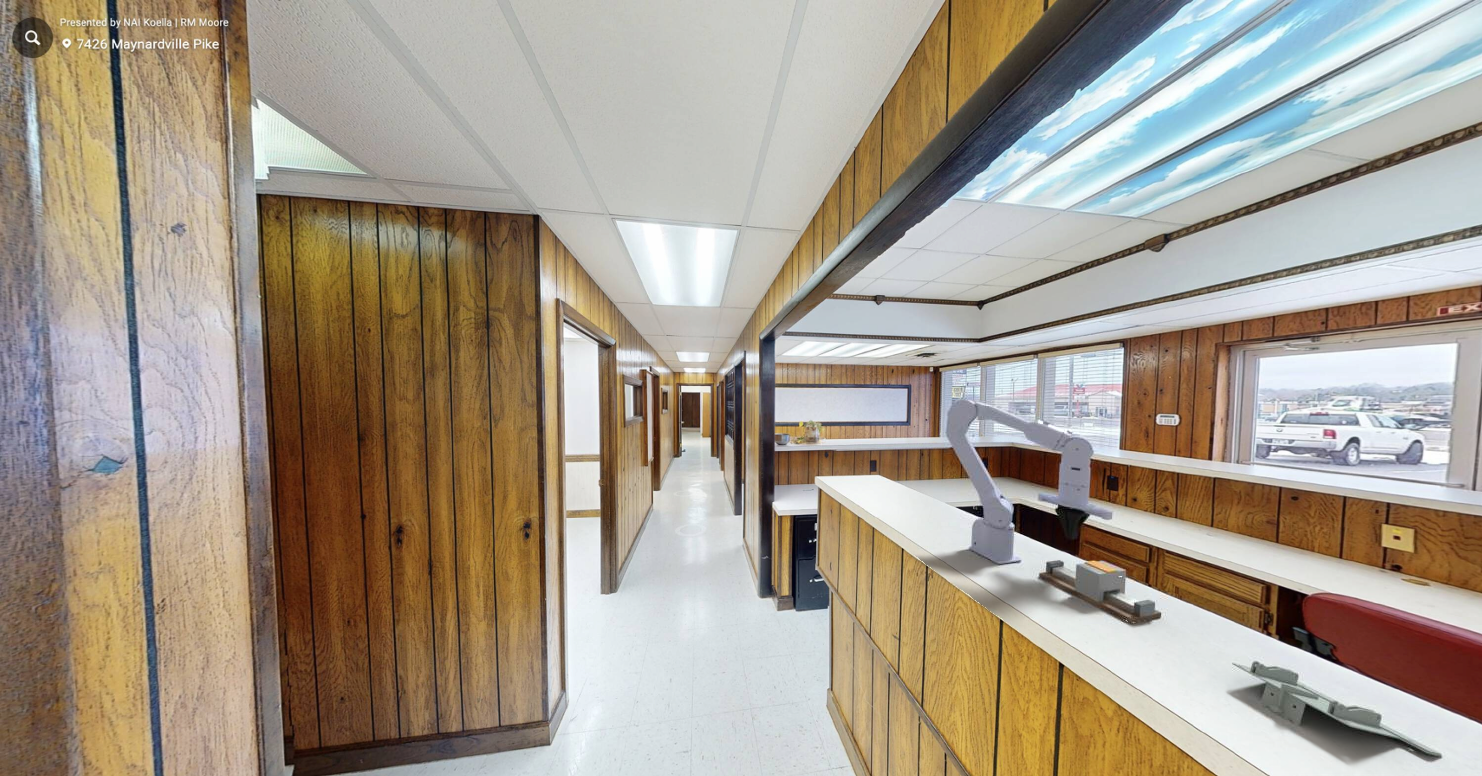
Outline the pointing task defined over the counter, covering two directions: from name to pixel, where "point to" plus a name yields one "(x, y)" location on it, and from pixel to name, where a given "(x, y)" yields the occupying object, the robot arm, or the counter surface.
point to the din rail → (1112, 596)
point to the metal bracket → (1317, 703)
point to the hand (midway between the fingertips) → (1070, 538)
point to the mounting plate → (1101, 604)
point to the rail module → (1099, 579)
